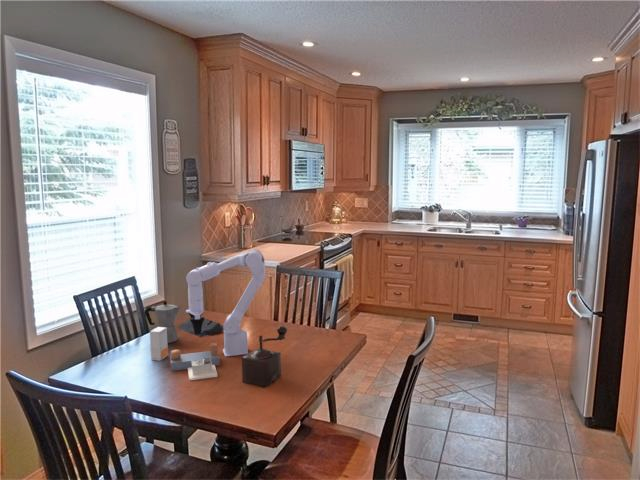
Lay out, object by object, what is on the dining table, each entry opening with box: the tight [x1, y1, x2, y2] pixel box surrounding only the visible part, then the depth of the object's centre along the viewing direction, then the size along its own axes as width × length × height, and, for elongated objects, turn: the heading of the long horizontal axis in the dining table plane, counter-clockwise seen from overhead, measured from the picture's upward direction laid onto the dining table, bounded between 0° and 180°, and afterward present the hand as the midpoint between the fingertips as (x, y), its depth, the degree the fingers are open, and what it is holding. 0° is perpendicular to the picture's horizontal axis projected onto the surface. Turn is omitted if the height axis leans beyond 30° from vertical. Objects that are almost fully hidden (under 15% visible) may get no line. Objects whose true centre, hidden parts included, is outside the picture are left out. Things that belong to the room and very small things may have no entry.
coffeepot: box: [143, 300, 182, 344], centre depth 215 cm, size 15×9×18 cm, turn 103°
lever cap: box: [191, 358, 212, 375], centre depth 180 cm, size 7×5×4 cm
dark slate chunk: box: [176, 318, 224, 338], centre depth 231 cm, size 15×22×5 cm
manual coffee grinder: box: [241, 325, 288, 388], centre depth 176 cm, size 16×11×18 cm
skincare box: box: [149, 326, 169, 362], centre depth 195 cm, size 6×4×12 cm
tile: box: [187, 364, 218, 381], centre depth 181 cm, size 10×10×1 cm
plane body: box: [169, 342, 221, 372], centre depth 189 cm, size 18×8×7 cm, turn 108°
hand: (197, 331), depth 199 cm, fingers open, 7 cm apart
